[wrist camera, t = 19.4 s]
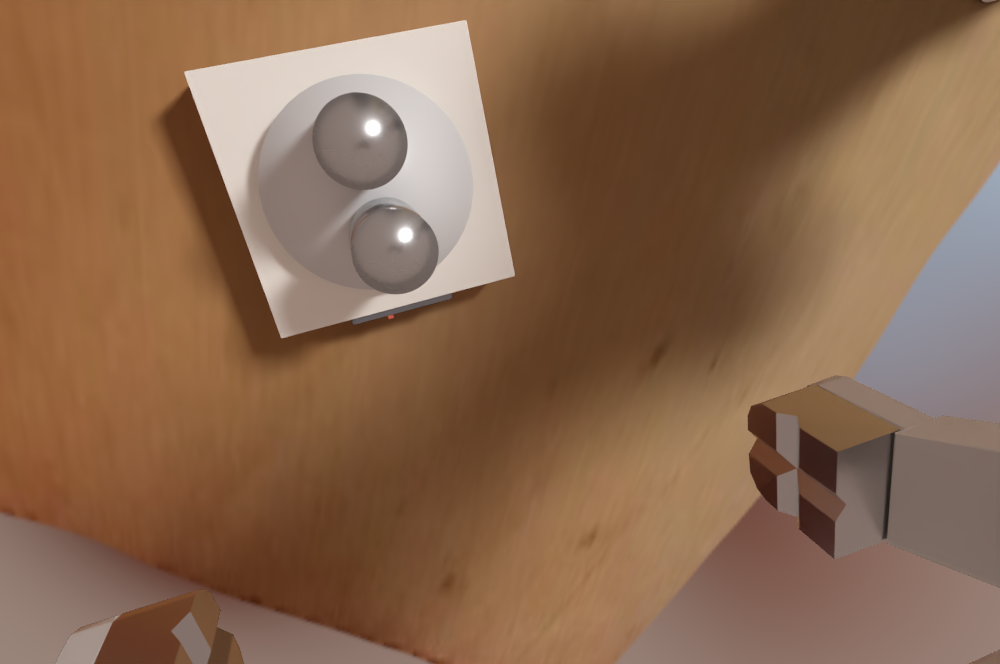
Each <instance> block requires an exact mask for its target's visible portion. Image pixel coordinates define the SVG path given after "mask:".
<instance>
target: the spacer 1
mask: <svg viewBox="0 0 1000 664" xmlns="http://www.w3.org/2000/svg"><path fill="white" fill-rule="evenodd" d="M312 143H313V149H314V153H315V156H316V158H317V160H318V162H319V164H320V166H321V167H322V169H323V170H324V171H325V172H326V174H327V175H329V176H330V177H331V178H332V179H333V180H334V181H336V182H337V183H339V184H341V185H343V186H345V187H348V188H351V189H356V190H371V189H375V188H378V187H381V186H383V185H385V184H387V183H388V182H390V181H391V180H392V179H393V178H394V177H395V176H396V175H397V174H398V173H399V171H400V170H401V168H402V166H403V164H404V162H405V159H406V155H407V149H408V140H407V134H406V130H405V127H404V124H403V122H402V120H401V118H400V117H399V115H398V114H397V113H396V111H395V110H394V109H393V108H392V107H391V106H390V105H389V104H388V103H386V102H385V101H383V100H382V99H380V98H378V97H376V96H374V95H371V94H367V93H360V92H353V93H346V94H343V95H340V96H337V97H336V98H334V99H332V100H331V101H329V102H328V103H327V104H326V105H325V106H324V107H323V108H322V110H321V111H320V112H319V114H318V116H317V118H316V120H315V123H314V127H313V133H312Z"/></svg>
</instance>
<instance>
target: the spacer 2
mask: <svg viewBox="0 0 1000 664" xmlns="http://www.w3.org/2000/svg"><path fill="white" fill-rule="evenodd" d="M349 240H350V247H351V255H352V261H353V264H354V267H355V270H356V271H357V273H358V275H359V276H360V278H361V279H362V280H363V281H364V282H365V283H366V284H367V285H369V286H370V287H372V288H373V289H375V290H377V291H379V292H382V293H386V294H404V293H408V292H411V291H414V290H416V289H418V288H419V287H421V286H422V285H423V284H424V283H426V282H427V280H428V279H429V278H430V277H431V275H432V274H433V272H434V270H435V268H436V265H437V262H438V256H439V247H438V242H437V239H436V236H435V234H434V232H433V230H432V228H431V227H430V226H429V225H428V223H427V222H426V221H425V220H424V219H423V218H422V217H421V216H420V215H419V214H418V213H417V212H416V211H415V210H414V209H413V208H412V207H411V206H410V205H408V204H407V203H405V202H403V201H401V200H399V199H396V198H391V197H381V198H376V199H373V200H370V201H368V202H366V203H365V204H363V205H362V206H361V207H360V208H359V209H358V210H357V211H356V213H355V214H354V216H353V218H352V220H351V223H350V227H349Z"/></svg>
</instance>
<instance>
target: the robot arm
mask: <svg viewBox="0 0 1000 664" xmlns="http://www.w3.org/2000/svg"><path fill="white" fill-rule="evenodd" d="M982 1H983V2H992V1H995V0H982ZM748 430H749V431H750V432H751V433H752V434H753V435H754V436H755V437H756V438H757V440H756V442H755V443H754V445H753V447H752V449H751V451H750V453H749V461H750V472H751V475H752V477H753V479H754V482H755V484H756V487H757V489H758V490H759V491H760V493H761V494H762V496H763V497H764V498H765V500H766V501H767V502H769V503H770V504H771V505H772V506H773V507H774V508H775V509H776V510H777V511H781V512H784V513H787V514H791V515H794V516H797V518H798V524H799V530H801V531H802V532H803V533H804V534H805V535H807V536H808V537H809V538H810V539H811V540H812V541H814V542H815V543H816V544H817V545H818V546H819V547H821V548H822V549H823V550H824V551H825V552H826V553H827V554H829V555H830V556H831V557H832V558H833V559H836V558H839V557H842V556H844V555H847V554H850V553H853V552H856V551H859V550H862V549H864V548H867V547H870V546H872V545H875V544H878V543H881V542H883V541H886V540H887V544H889V545H892V546H894V547H897V548H899V549H902V550H905V551H907V552H909V553H912V554H915V555H917V556H920V557H922V558H925V559H927V560H930V561H932V562H935V563H938V564H940V565H943V566H945V567H948V568H950V569H953V570H956V571H958V572H961V573H963V574H966V575H968V576H971V577H973V578H976V579H979V580H981V581H984V582H986V583H989V584H991V585H994V586H997V587H999V588H1000V424H998V423H990V422H984V421H977V420H970V419H963V418H956V417H950V416H941V417H938V418H935V419H934V418H932V417H930V416H928V415H926V414H923V413H921V412H919V411H918V410H915V409H913V408H911V407H909V406H907V405H905V404H903V403H901V402H899V401H897V400H895V399H892V398H890V397H888V396H886V395H884V394H882V393H880V392H878V391H876V390H874V389H872V388H869V387H867V386H865V385H863V384H861V383H859V382H857V381H855V380H853V379H851V378H849V377H846V376H833V377H830V378H827V379H824V380H822V381H819V382H816V383H813V384H811V385H808V386H807V387H806V388H803V389H800V390H797V391H794V392H791V393H788V394H785V395H782V396H779V397H776V398H773V399H770V400H767V401H765V402H762V403H759V404H756V405H753V406H751V408H750V411H749V414H748ZM220 611H221V610H220V608H219V606H218V604H217V603H216V601H215V599H214V597H213V596H212V594H211V592H210V591H207V590H204V589H200V590H196V591H193V592H190V593H187V594H184V595H180V596H177V597H174V598H171V599H167V600H164V601H161V602H158V603H155V604H151V605H148V606H145V607H142V608H139V609H135V610H132V611H129V612H126V613H123V614H122V615H118V616H114V617H111V618H108V619H105V620H102V621H99V622H96V623H92V624H89V625H87V626H83V627H81V628H79V629H78V630H77V631H75V632H74V633H73V634H71V635H70V636H69V638H68V640H67V642H66V644H65V645H64V647H63V649H62V651H61V653H60V655H59V657H58V659H57V661H56V662H55V664H244V662H243V658H242V655H241V651H240V648H239V646H238V644H237V642H236V640H235V638H234V635H233V634H231V633H229V632H226V631H224V630H222V629H219V628H217V623H218V619H219V615H220ZM969 664H1000V650H998V651H996V652H993V653H991V654H989V655H987V656H985V657H982V658H980V659H978V660H976V661H974V662H972V663H969Z"/></svg>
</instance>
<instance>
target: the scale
mask: <svg viewBox="0 0 1000 664" xmlns="http://www.w3.org/2000/svg"><path fill="white" fill-rule="evenodd" d="M184 73H185V76H186V79H187V82H188V84H189V87H190V90H191V93H192V95H193V98H194V101H195V104H196V106H197V109H198V112H199V115H200V117H201V120H202V123H203V125H204V128H205V131H206V134H207V136H208V139H209V142H210V145H211V147H212V150H213V153H214V156H215V158H216V161H217V164H218V167H219V169H220V172H221V175H222V177H223V180H224V183H225V186H226V188H227V191H228V194H229V197H230V199H231V202H232V205H233V208H234V210H235V213H236V216H237V219H238V221H239V224H240V227H241V229H242V232H243V235H244V238H245V240H246V243H247V246H248V249H249V251H250V254H251V257H252V260H253V262H254V265H255V268H256V271H257V273H258V276H259V279H260V281H261V284H262V287H263V290H264V292H265V295H266V298H267V301H268V303H269V306H270V309H271V312H272V314H273V317H274V320H275V323H276V325H277V328H278V331H279V333H280V336H281V338H285V337H289V336H292V335H296V334H300V333H304V332H307V331H311V330H315V329H319V328H322V327H326V326H330V325H334V324H337V323H341V322H345V321H349V320H352V322H353V325H355V324H359V323H363V322H366V321H370V320H374V319H377V318H381V317H385V316H388V318H389V319H391V318H394V316H393V314H396V313H400V312H403V311H407V310H411V309H415V308H418V307H422V306H426V305H429V304H433V303H437V302H441V301H444V300H448V299H452V294H451V293H453V292H457V291H461V290H465V289H468V288H472V287H476V286H480V285H483V284H487V283H491V282H495V281H498V280H502V279H506V278H510V277H513V276H515V273H514V268H513V263H512V257H511V252H510V247H509V242H508V236H507V231H506V226H505V221H504V215H503V210H502V205H501V200H500V194H499V189H498V184H497V179H496V173H495V168H494V163H493V157H492V152H491V147H490V142H489V136H488V131H487V126H486V121H485V115H484V110H483V105H482V100H481V94H480V89H479V84H478V79H477V73H476V68H475V63H474V58H473V52H472V47H471V42H470V37H469V31H468V26H467V21H466V20H464V21H458V22H453V23H448V24H442V25H437V26H431V27H426V28H420V29H415V30H409V31H404V32H398V33H393V34H388V35H382V36H377V37H371V38H366V39H360V40H355V41H349V42H344V43H338V44H333V45H327V46H322V47H317V48H311V49H306V50H300V51H295V52H289V53H284V54H278V55H273V56H267V57H262V58H257V59H251V60H246V61H240V62H235V63H229V64H224V65H218V66H213V67H207V68H202V69H197V70H191V71H186V72H184ZM353 92H360V93H367V94H371V95H374V96H376V97H378V98H380V99H382V100H383V101H385V102H386V103H388V104H389V105H390V106H391V107H392V108H393V109H394V110H395V111H396V113H397V114H398V115H399V117H400V118H401V120H402V122H403V124H404V127H405V130H406V134H407V140H408V149H407V155H406V159H405V162H404V164H403V166H402V168H401V170H400V171H399V173H398V174H397V175H396V176H395V177H394V178H393V179H392V180H391V181H390V182H388V183H387V184H385V185H383V186H381V187H378V188H375V189H371V190H356V189H351V188H348V187H345V186H343V185H341V184H339V183H337V182H336V181H334V180H333V179H332V178H331V177H330V176H329V175H327V174H326V172H325V171H324V170H323V169H322V167H321V166H320V164H319V162H318V160H317V158H316V156H315V153H314V149H313V143H312V133H313V127H314V123H315V120H316V118H317V116H318V114H319V112H320V111H321V110H322V108H323V107H324V106H325V105H326V104H327V103H328V102H329V101H331V100H332V99H334V98H336V97H337V96H340V95H343V94H346V93H353ZM381 197H391V198H396V199H399V200H401V201H403V202H405V203H407V204H408V205H410V206H411V207H412V208H413V209H414V210H415V211H416V212H417V213H418V214H419V215H420V216H421V217H422V218H423V219H424V220H425V221H426V222H427V223H428V225H429V226H430V227H431V228H432V230H433V232H434V234H435V236H436V239H437V242H438V247H439V256H438V262H437V265H436V268H435V270H434V272H433V274H432V275H431V277H430V278H429V279H428V280H427V282H426V283H424V284H423V285H422V286H421V287H419V288H418V289H416V290H414V291H411V292H408V293H404V294H386V293H382V292H379V291H377V290H375V289H373V288H372V287H370V286H369V285H367V284H366V283H365V282H364V281H363V280H362V279H361V278H360V276H359V275H358V273H357V271H356V270H355V267H354V264H353V261H352V255H351V247H350V240H349V227H350V223H351V220H352V218H353V216H354V214H355V213H356V211H357V210H358V209H359V208H360V207H361V206H362V205H363V204H365V203H366V202H368V201H370V200H373V199H376V198H381Z"/></svg>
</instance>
